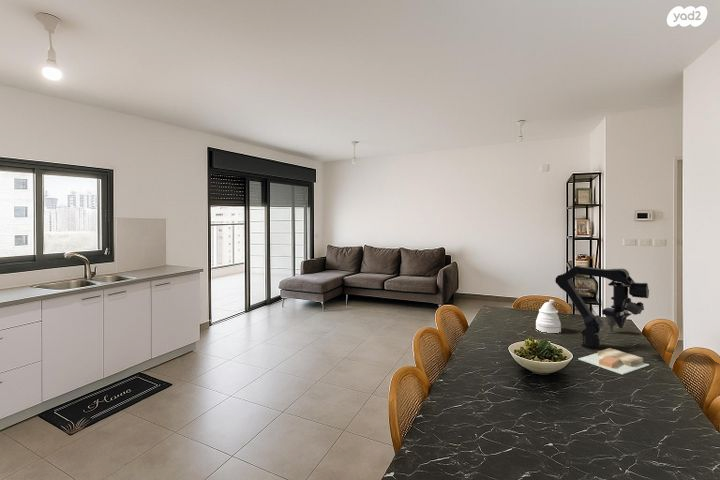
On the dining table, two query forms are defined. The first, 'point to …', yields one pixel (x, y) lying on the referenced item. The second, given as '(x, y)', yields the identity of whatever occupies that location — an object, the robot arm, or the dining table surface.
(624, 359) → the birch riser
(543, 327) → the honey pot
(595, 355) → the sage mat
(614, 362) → the terracotta tile
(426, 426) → the dining table surface
